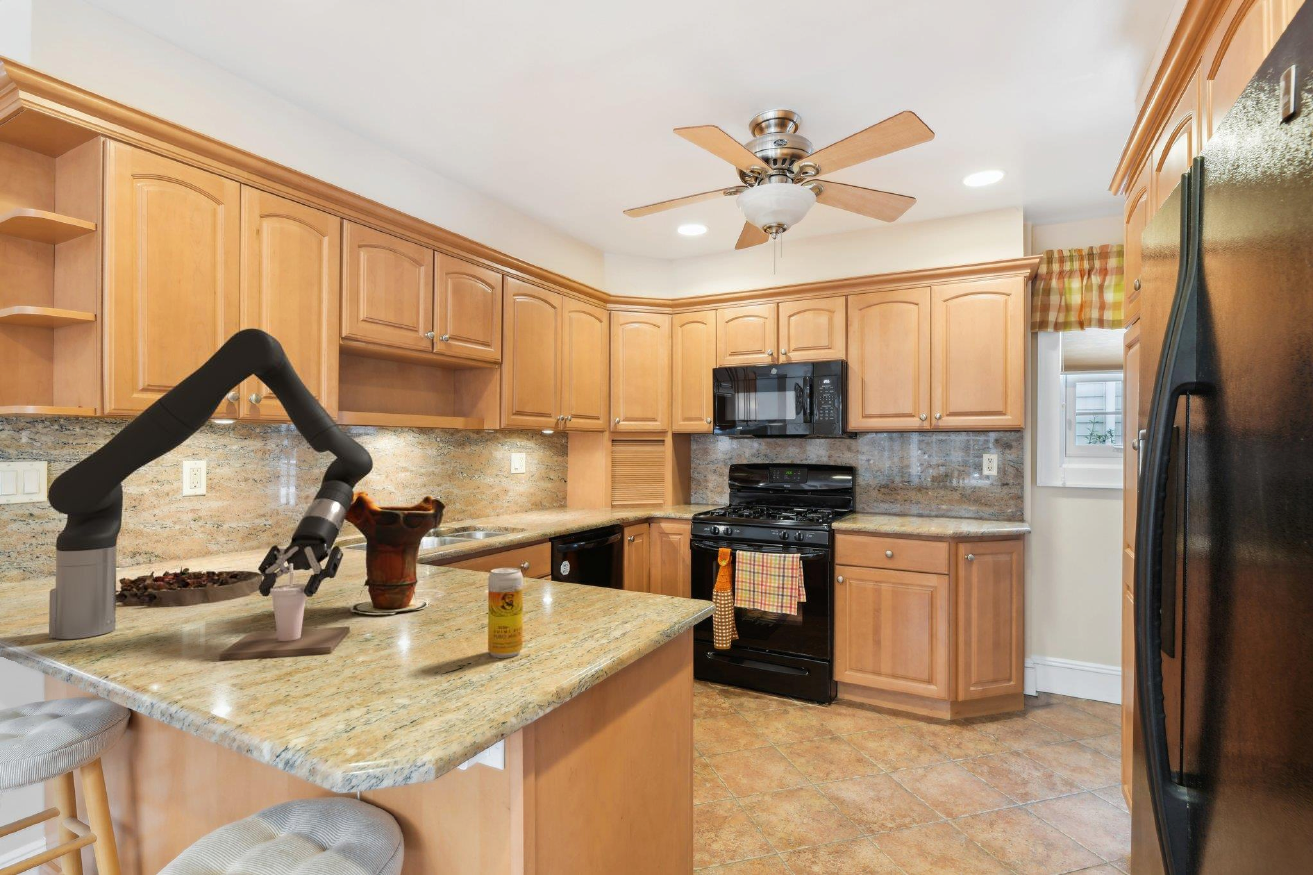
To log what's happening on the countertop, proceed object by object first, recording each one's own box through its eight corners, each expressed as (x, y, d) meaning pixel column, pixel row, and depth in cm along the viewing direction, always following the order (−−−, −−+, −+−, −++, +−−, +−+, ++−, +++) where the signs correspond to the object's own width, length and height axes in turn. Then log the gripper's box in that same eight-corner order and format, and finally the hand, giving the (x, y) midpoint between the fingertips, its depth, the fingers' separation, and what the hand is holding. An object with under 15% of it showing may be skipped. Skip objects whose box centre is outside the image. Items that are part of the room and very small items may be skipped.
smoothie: (315, 633, 126) (315, 561, 126) (294, 643, 120) (294, 566, 120) (284, 633, 127) (284, 561, 127) (261, 643, 120) (261, 566, 121)
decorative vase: (458, 607, 153) (458, 490, 153) (356, 623, 138) (357, 494, 139) (425, 592, 168) (426, 487, 169) (331, 606, 154) (332, 490, 154)
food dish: (92, 599, 168) (93, 568, 168) (238, 581, 193) (239, 555, 193) (123, 617, 145) (124, 581, 145) (284, 594, 170) (284, 564, 170)
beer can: (492, 660, 114) (492, 574, 114) (484, 651, 119) (484, 569, 119) (526, 655, 116) (526, 571, 117) (517, 646, 122) (517, 566, 122)
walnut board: (219, 660, 114) (219, 653, 114) (251, 638, 128) (251, 631, 128) (330, 653, 118) (330, 646, 118) (349, 632, 132) (349, 626, 132)
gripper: (278, 514, 131) (238, 582, 119) (347, 514, 130) (314, 583, 119) (294, 537, 136) (257, 605, 125) (360, 537, 136) (330, 605, 124)
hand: (285, 594), depth 122 cm, fingers open, 8 cm apart
